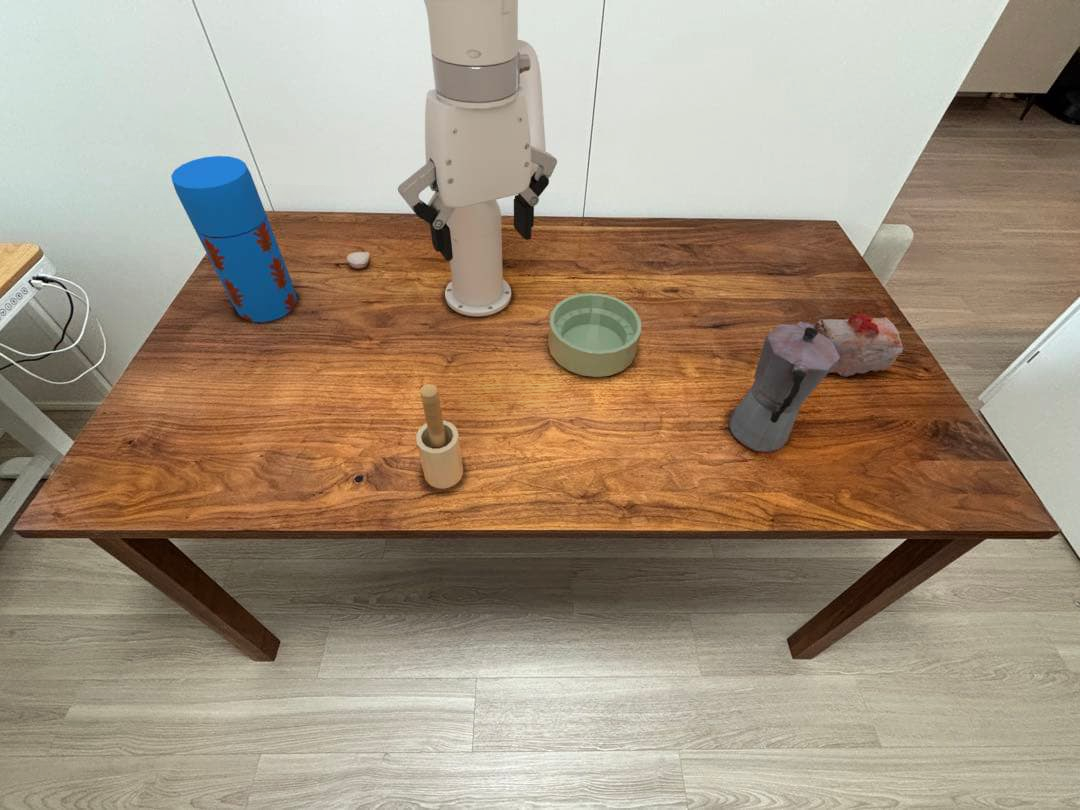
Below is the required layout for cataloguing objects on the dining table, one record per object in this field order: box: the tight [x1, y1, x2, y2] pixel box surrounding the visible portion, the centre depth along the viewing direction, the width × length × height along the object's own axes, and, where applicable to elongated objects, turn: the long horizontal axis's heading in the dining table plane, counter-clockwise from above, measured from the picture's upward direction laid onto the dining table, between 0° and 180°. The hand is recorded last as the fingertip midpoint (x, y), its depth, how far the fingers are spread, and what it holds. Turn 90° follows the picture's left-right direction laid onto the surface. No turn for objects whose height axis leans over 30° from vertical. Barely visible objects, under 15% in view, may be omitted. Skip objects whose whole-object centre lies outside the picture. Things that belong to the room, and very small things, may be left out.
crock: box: [415, 419, 464, 489], centre depth 73 cm, size 5×6×9 cm
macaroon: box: [346, 251, 370, 270], centre depth 108 cm, size 4×5×2 cm
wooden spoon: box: [419, 383, 447, 449], centre depth 69 cm, size 3×2×18 cm
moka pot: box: [728, 320, 840, 453], centre depth 76 cm, size 10×15×20 cm, turn 161°
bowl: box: [547, 292, 642, 378], centre depth 92 cm, size 15×15×6 cm
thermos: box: [170, 155, 298, 323], centre depth 90 cm, size 11×11×25 cm
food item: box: [813, 313, 904, 378], centre depth 90 cm, size 14×8×10 cm, turn 96°
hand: (484, 243), depth 61 cm, fingers open, 9 cm apart
